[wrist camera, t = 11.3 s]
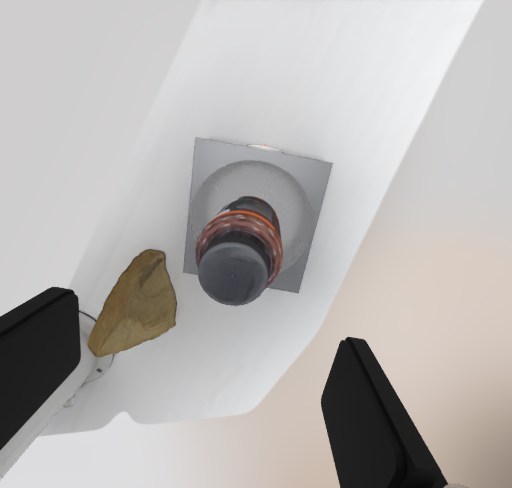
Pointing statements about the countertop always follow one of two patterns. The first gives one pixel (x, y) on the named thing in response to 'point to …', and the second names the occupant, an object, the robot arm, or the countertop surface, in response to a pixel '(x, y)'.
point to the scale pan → (266, 188)
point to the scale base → (302, 169)
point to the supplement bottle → (239, 251)
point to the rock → (135, 307)
